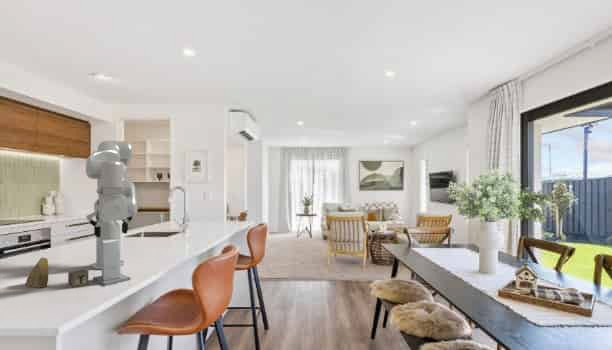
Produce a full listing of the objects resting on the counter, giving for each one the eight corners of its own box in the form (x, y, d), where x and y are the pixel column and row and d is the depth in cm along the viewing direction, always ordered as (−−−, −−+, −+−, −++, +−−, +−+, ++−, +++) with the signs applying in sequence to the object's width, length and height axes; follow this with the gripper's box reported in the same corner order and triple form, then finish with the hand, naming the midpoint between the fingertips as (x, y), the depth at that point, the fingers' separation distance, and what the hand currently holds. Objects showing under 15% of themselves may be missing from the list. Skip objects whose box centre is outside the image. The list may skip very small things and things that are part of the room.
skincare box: (120, 278, 125) (121, 240, 125) (102, 281, 121) (102, 242, 122) (118, 273, 132) (118, 237, 132) (100, 276, 128) (100, 239, 128)
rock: (55, 280, 119) (60, 270, 128) (37, 264, 116) (43, 255, 125) (26, 301, 116) (33, 289, 124) (6, 285, 113) (15, 274, 121)
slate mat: (92, 280, 127) (92, 277, 127) (117, 274, 134) (117, 272, 134) (105, 285, 119) (105, 283, 119) (130, 279, 127) (130, 277, 127)
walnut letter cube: (68, 285, 121) (68, 271, 121) (83, 281, 125) (83, 268, 125) (73, 288, 118) (73, 274, 118) (88, 284, 122) (88, 271, 122)
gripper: (90, 193, 118) (90, 239, 118) (138, 191, 132) (138, 232, 132) (82, 192, 123) (82, 237, 123) (130, 190, 136) (129, 230, 136)
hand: (111, 234), depth 127 cm, fingers open, 9 cm apart
